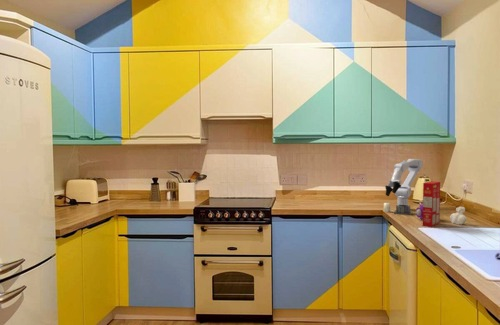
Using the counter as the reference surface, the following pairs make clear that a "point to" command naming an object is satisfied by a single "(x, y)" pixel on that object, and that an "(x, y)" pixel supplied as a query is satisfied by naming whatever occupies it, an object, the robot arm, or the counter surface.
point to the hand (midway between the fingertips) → (390, 194)
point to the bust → (458, 216)
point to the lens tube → (403, 210)
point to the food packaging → (431, 203)
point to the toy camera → (419, 211)
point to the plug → (386, 207)
